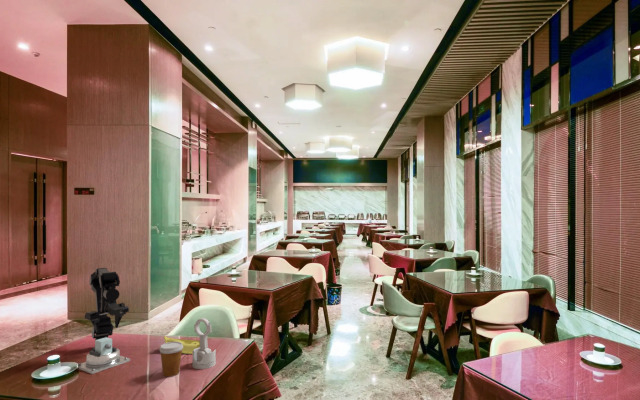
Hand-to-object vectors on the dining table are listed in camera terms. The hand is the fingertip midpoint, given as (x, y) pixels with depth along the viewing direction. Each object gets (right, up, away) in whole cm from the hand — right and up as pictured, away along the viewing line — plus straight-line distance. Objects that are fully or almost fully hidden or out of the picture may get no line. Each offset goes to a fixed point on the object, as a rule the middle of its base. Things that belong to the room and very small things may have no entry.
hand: (107, 330), depth 178 cm
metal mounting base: (+5, -11, -12) cm, 17 cm away
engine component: (+51, -11, -13) cm, 54 cm away
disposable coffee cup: (+40, -11, -23) cm, 48 cm away
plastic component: (+36, -13, +7) cm, 38 cm away
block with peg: (+5, -6, -11) cm, 14 cm away
